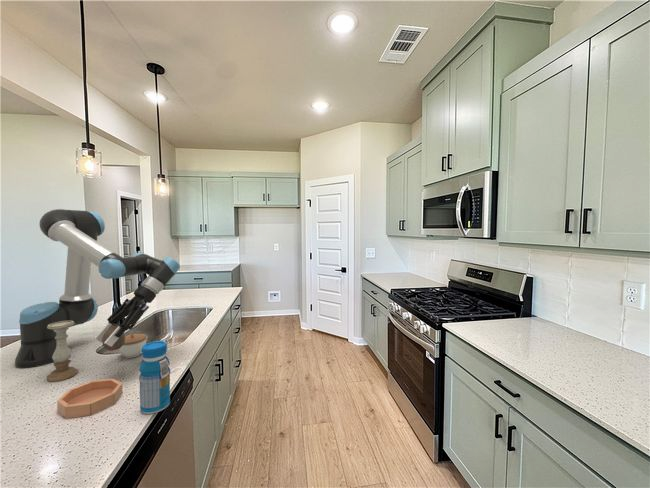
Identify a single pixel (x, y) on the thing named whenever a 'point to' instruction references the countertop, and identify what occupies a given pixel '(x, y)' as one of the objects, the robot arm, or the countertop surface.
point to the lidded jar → (133, 345)
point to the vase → (117, 344)
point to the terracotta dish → (89, 398)
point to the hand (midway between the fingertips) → (102, 342)
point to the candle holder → (61, 353)
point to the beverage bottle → (154, 378)
